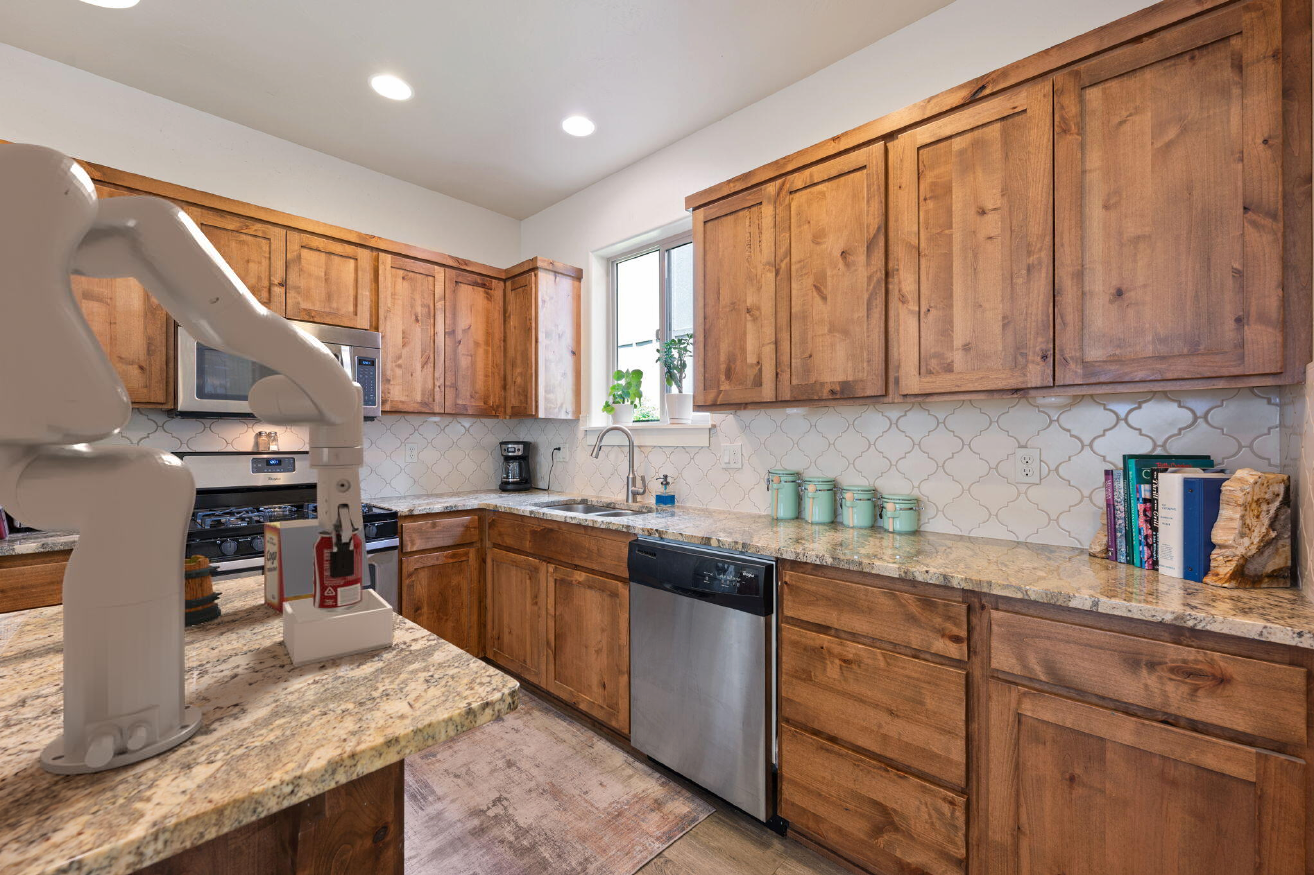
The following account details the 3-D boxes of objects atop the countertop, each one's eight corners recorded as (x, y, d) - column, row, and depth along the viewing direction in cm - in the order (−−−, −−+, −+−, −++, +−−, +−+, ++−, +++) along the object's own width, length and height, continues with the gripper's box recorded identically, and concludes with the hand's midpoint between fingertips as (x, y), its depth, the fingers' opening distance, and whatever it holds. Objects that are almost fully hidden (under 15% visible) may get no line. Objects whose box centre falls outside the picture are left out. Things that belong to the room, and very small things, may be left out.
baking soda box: (264, 603, 112) (264, 521, 112) (301, 596, 117) (301, 517, 117) (279, 613, 105) (279, 526, 105) (318, 605, 110) (318, 522, 110)
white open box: (392, 646, 89) (392, 607, 89) (294, 667, 81) (294, 624, 81) (371, 623, 100) (371, 588, 100) (283, 639, 92) (283, 602, 92)
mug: (214, 607, 109) (214, 547, 109) (230, 618, 102) (230, 554, 102) (121, 625, 99) (121, 558, 99) (133, 638, 92) (133, 567, 92)
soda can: (369, 607, 90) (368, 531, 90) (321, 617, 86) (321, 537, 85) (353, 598, 95) (353, 526, 95) (307, 607, 90) (307, 531, 90)
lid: (362, 515, 105) (361, 516, 105) (279, 521, 97) (279, 523, 97) (370, 583, 99) (370, 584, 100) (284, 596, 92) (284, 597, 92)
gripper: (376, 460, 86) (376, 579, 86) (351, 456, 99) (352, 559, 99) (318, 461, 81) (319, 587, 81) (301, 457, 95) (302, 565, 95)
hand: (337, 571), depth 90 cm, fingers closed on soda can, 6 cm apart
